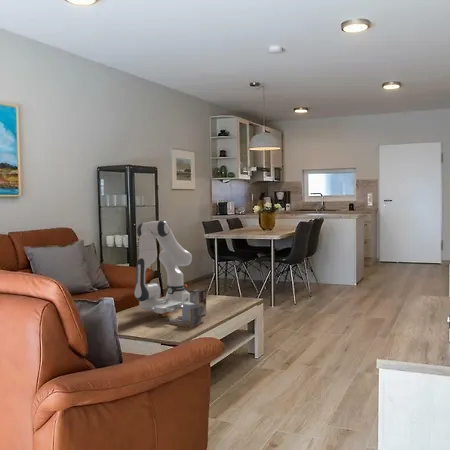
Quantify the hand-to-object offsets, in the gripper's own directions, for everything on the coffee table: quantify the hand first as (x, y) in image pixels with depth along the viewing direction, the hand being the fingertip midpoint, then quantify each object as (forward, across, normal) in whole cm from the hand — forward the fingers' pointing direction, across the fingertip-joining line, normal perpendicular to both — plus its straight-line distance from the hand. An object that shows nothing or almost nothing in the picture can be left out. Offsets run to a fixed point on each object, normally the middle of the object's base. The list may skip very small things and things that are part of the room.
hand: (178, 309), depth 313 cm
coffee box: (-1, +21, +8) cm, 22 cm away
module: (+8, 0, +7) cm, 11 cm away
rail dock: (+5, 0, +8) cm, 9 cm away
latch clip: (+12, 0, +7) cm, 14 cm away
